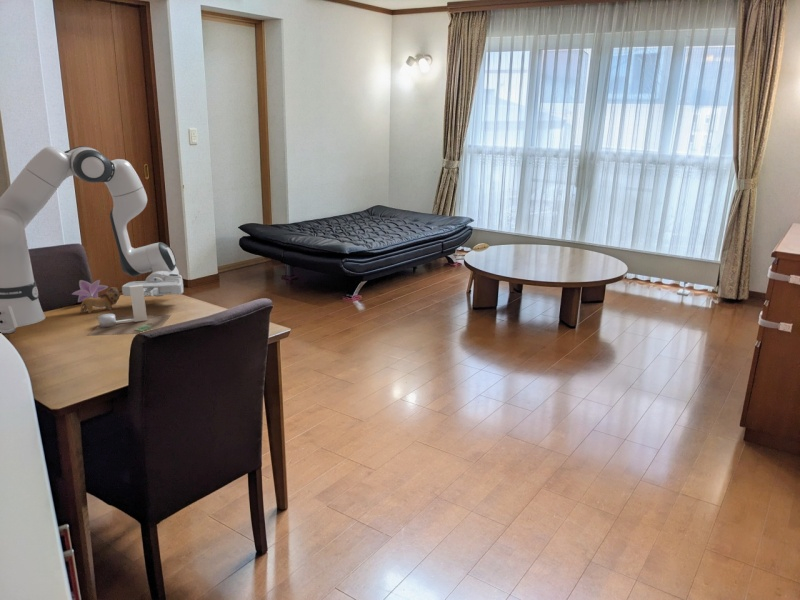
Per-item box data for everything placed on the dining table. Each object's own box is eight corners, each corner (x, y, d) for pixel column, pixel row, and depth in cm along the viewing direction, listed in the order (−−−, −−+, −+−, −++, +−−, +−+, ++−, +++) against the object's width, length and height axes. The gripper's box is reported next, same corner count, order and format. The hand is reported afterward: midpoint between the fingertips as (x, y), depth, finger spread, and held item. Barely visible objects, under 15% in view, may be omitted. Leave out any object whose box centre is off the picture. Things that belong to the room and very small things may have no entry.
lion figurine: (119, 308, 220) (116, 285, 217) (124, 311, 216) (121, 287, 213) (76, 317, 210) (71, 292, 208) (80, 320, 206) (76, 295, 204)
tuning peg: (99, 328, 193) (93, 292, 190) (99, 323, 198) (94, 288, 194) (147, 321, 199) (143, 286, 196) (146, 317, 204) (142, 283, 200)
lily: (116, 301, 232) (106, 278, 233) (106, 297, 221) (96, 274, 221) (85, 313, 230) (75, 290, 230) (73, 310, 218) (63, 286, 219)
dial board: (87, 339, 188) (86, 334, 187) (109, 320, 206) (108, 316, 205) (156, 337, 190) (156, 332, 189) (172, 318, 208) (171, 313, 207)
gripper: (127, 276, 216) (114, 286, 203) (185, 274, 218) (176, 284, 205) (130, 293, 218) (116, 304, 205) (187, 291, 220) (178, 302, 207)
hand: (147, 294), depth 205 cm, fingers closed
